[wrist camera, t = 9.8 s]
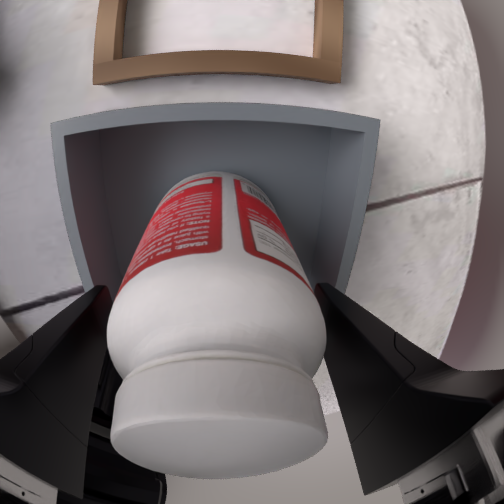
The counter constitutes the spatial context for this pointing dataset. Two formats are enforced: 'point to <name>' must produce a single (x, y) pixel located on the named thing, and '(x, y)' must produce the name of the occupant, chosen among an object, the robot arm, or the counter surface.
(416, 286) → the counter surface
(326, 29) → the wooden frame
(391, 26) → the counter surface
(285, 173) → the bin
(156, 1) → the counter surface
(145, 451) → the pill bottle
